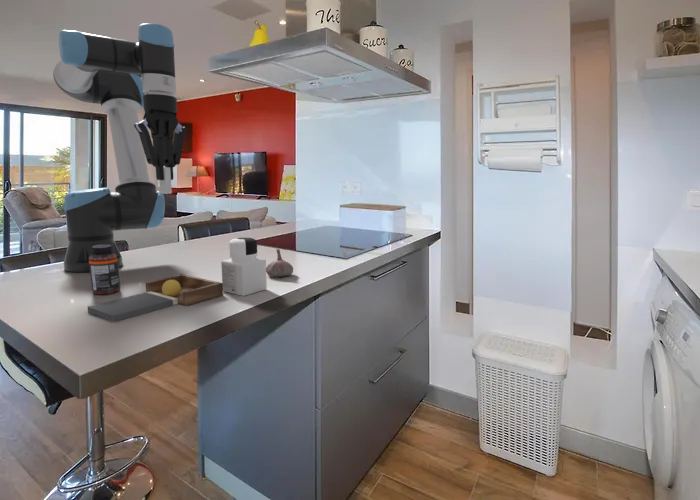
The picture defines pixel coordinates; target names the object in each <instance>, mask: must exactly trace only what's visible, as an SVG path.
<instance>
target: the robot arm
mask: <svg viewBox="0 0 700 500" xmlns="http://www.w3.org/2000/svg"><path fill="white" fill-rule="evenodd" d="M137 28H138V30H137V31H138V32H137V39H138V41H131V40H127V39H122V38H121V39H120V38H113V37H109V36H103V35H97V34H92V33H87V32H82V31H80V30H67V29H62V30H60V31H59V33H58V48H59V56H60V59H61V60H59V62H58V63H56V65H55V66H54V69H53V73H52V74H53V75H52V76H53V80H54V81H55V84H56V86H57V87H58V88H59V89H60V91H62V92H63V93H64V94H66V95H67V96H69V97H71V98H72V99H74V100H77V101H80V102H84V103H89V104H97V105H100V107H101V111H103V113H105V114H106V115H107V116H108V122H109V127H110V134H111V139H112V140H111V141H112V146H113V152H114V158H115V163H116V169H117V175H118V176H117V177H118V180H119V183H118V184H117V185H116V186H115V188H114V190H115V192H114V191H113V192H112V191H111V190H110V189H109V187H98V188H87V189H80V190H74V191H70V192H68V193H66V194H65V195H64V200H63V201H64V208H63V211H65V221H66V222H65V223H66V231H67V239H68V240H67V241H68V245H67V247H66V251H65V256H64V259H63V268H64V270H65V271H66V272H73V273H85V272H86V273H90V268H89V257H90V256H91V255H92V253H93V252H92V247H93V246H95V245H111V246H112V252H113V253H114V254H116V255H117V261H118V268H120V267H121V266H122V265H123V264H124V263H123V257H122V255H121V252H120V251H119V250H120V249H119V248H118V245H117V243H116V242H115V238H114V231H116V232H117V231H128V230H129V231H130V230H144V229H145V230H147V229H155V228H158V227H160V226H161V225H162V223H163V221H164V218H165V210H166V202H165V196H164V195H165V194H166V195H168V194H169V195H171V194H173V193H172V192H173V191H172V181H173V180H174V168H175V167H176V166H177V165H178V166H179V165H180V164H181V158H182V153H183V145H184V140H185V135H186V134H187V132H188V127H186V126H182V125H181V124H180V121H179V119H178V117H177V115H178V114H177V113H178V100H177V99H178V98H176V97H175V96H176V95H177V86H176V85H177V84H176V83H177V82H176V65H175V49H174V48H175V44H174V37H173V31H172V30H171V29H170V28H169V27H168V26H165V25H162V24H158V23H152V22H151V23H150V22H148V23H147V22H146V23H141V24H139V26H138V27H137ZM142 108H143V110H144V115H143V118H142V120H141V121H140V120H139V114H140V113H141V112H142ZM148 129H149V130H148ZM149 131H150V132H149ZM174 132H175V133H174ZM147 164H149V165H152V166H153V167H154V168H155V176H156V177H155V178H156V181H158V182H159V190H157V187H156V184H155V183H154V182H152V181H151V180H150V176H149V171H148V166H147Z"/></svg>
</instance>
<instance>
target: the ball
mask: <svg viewBox="0 0 700 500" xmlns="http://www.w3.org/2000/svg"><path fill="white" fill-rule="evenodd" d="M180 290H181V286H180V284H179V282H177V281H176V280H168V281H166V282H165V283H164V284H163V286H162V292H163V293H164V295H167V296H170V297H174V296H176V295H178V294H179V293H180Z"/></svg>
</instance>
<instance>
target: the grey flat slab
mask: <svg viewBox="0 0 700 500" xmlns="http://www.w3.org/2000/svg"><path fill="white" fill-rule="evenodd" d="M171 305H172V306H174V305H179V304H178V298H174V297H170V296H167V295H163V294H159V293H156V292H152V291H150V292H146V291H145V292H142V293H138V294H134V295H129V296H127V297H123V298H116V299H113V300H109V301H105V302H100V303H97V304H92V305H89V306H87V312H88V313H89V314H91V315H94V316H97V317H100V318H102V317H103V319H105V318H106V320H109V321H111V322H113V321H114V322H118V321H122V319H123V320H126V319H129V317H130V318H133V317H136V316H139V315H143V314H146V313H150V312H151V313H152V312H154V311H157V310H160V309H164V308H167V307H171ZM114 322H113V323H114Z"/></svg>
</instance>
